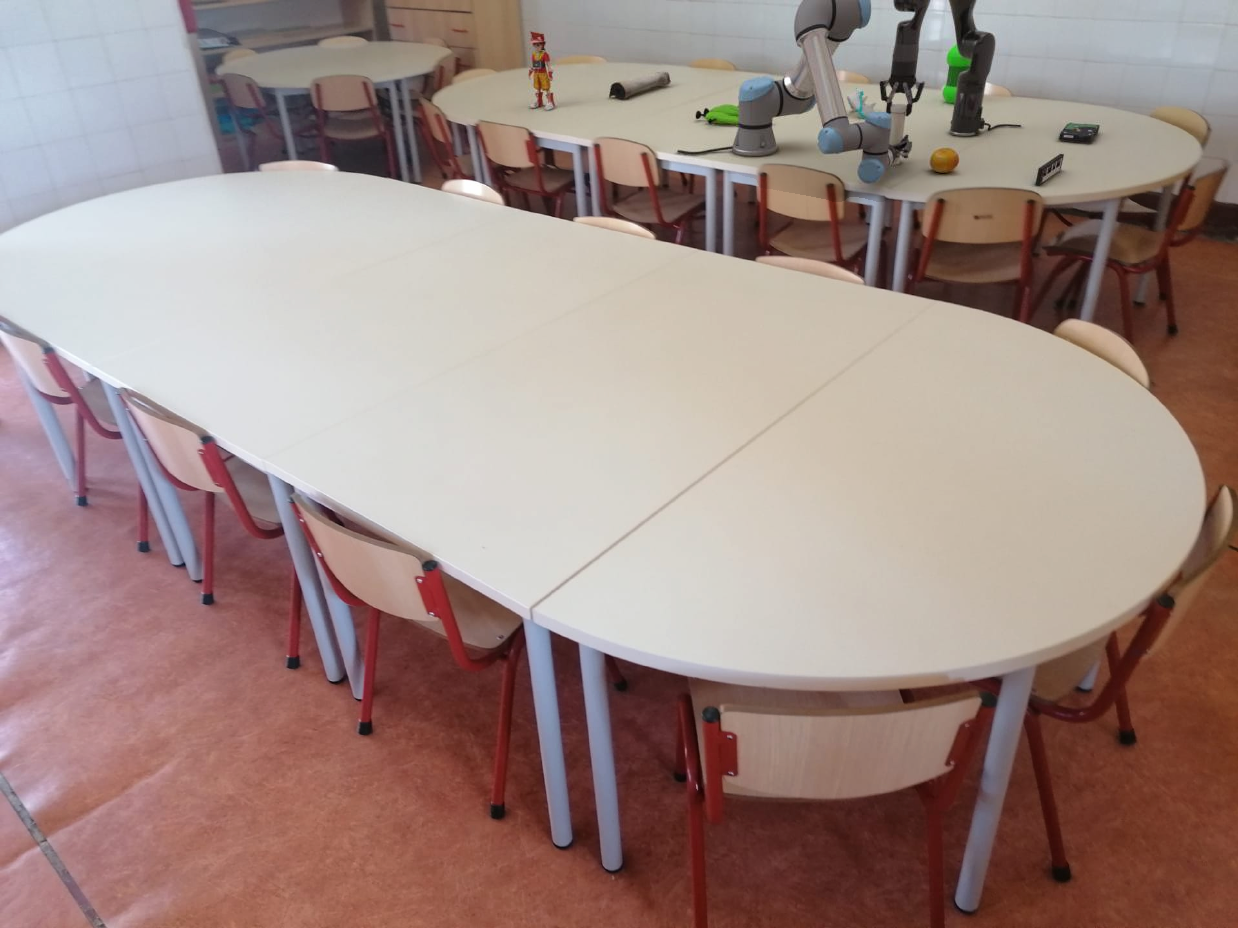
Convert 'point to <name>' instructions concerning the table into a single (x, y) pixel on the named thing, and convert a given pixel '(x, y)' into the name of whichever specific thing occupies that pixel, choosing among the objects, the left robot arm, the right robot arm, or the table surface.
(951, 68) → the plastic bottle
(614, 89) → the rolled mat
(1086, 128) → the disk drive
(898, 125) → the beige plastic cylinder
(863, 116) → the anatomical model
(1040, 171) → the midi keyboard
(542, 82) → the toy
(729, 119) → the toy
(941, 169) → the fruit
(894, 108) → the lid
